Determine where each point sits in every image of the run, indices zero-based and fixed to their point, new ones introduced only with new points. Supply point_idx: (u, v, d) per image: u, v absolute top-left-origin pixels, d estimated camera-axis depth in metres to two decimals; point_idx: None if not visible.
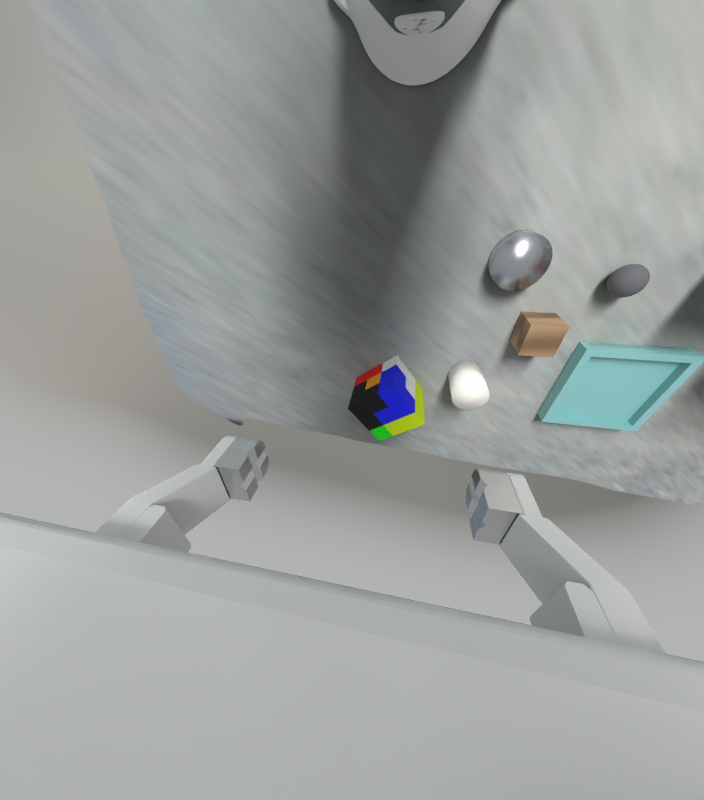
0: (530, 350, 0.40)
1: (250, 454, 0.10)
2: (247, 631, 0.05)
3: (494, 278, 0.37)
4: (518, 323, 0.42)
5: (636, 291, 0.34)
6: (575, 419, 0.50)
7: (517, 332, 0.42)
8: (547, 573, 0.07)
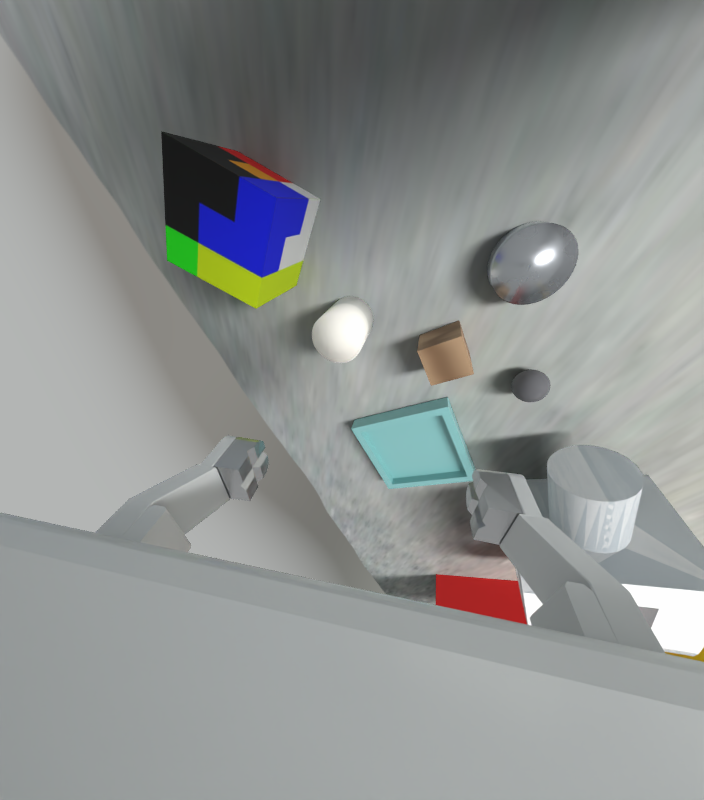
0: (429, 359, 0.31)
1: (250, 454, 0.10)
2: (247, 631, 0.05)
3: (503, 247, 0.25)
4: (446, 327, 0.32)
5: (527, 399, 0.32)
6: (371, 449, 0.46)
7: (436, 333, 0.32)
8: (547, 573, 0.07)
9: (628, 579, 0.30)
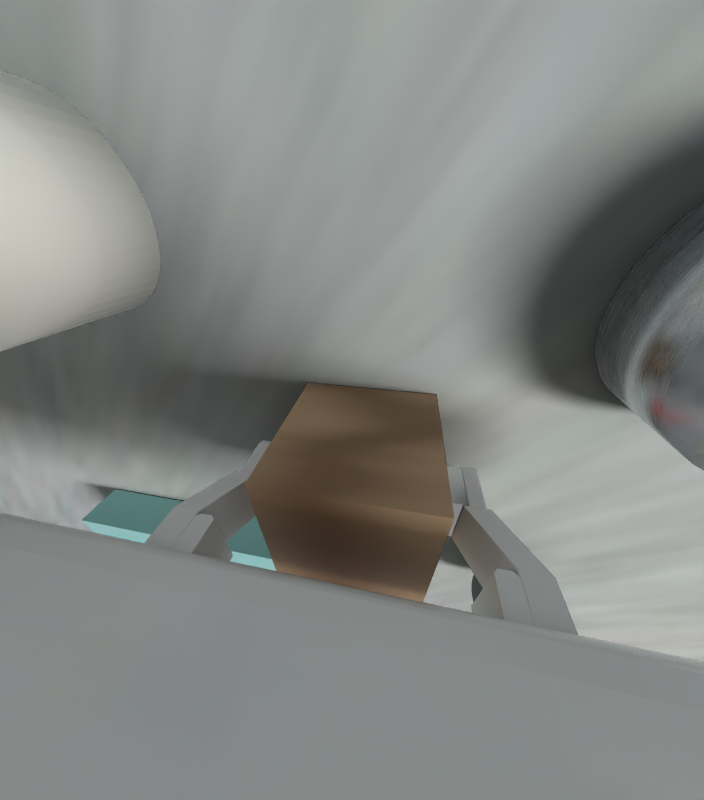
0: (288, 524, 0.07)
1: None
2: (247, 631, 0.05)
3: None
4: (394, 404, 0.09)
5: None
6: None
7: (355, 413, 0.09)
8: (487, 562, 0.07)
9: None
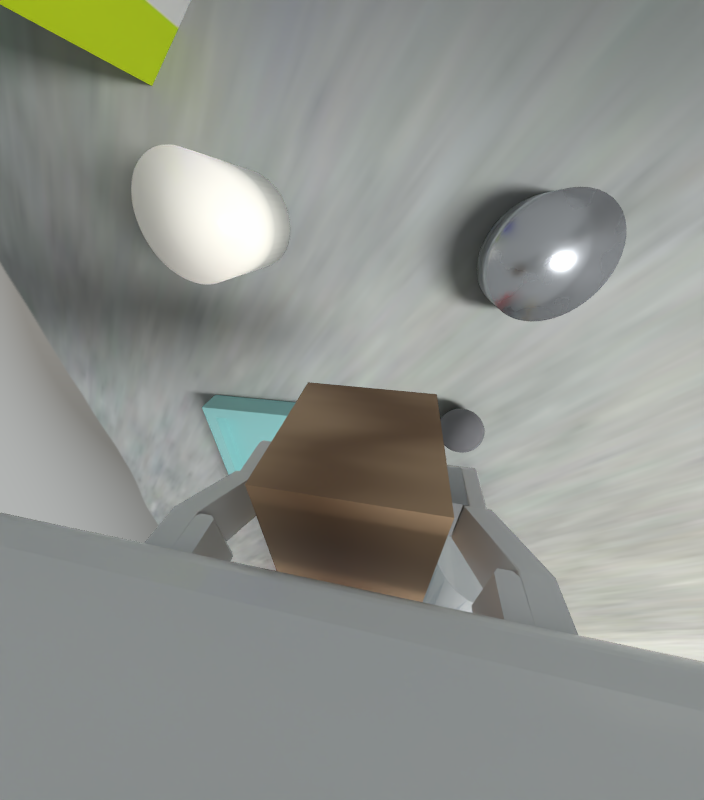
0: (288, 523, 0.07)
1: None
2: (247, 631, 0.05)
3: (534, 205, 0.14)
4: (393, 404, 0.09)
5: (453, 447, 0.23)
6: (228, 445, 0.31)
7: (355, 412, 0.09)
8: (487, 562, 0.07)
9: None
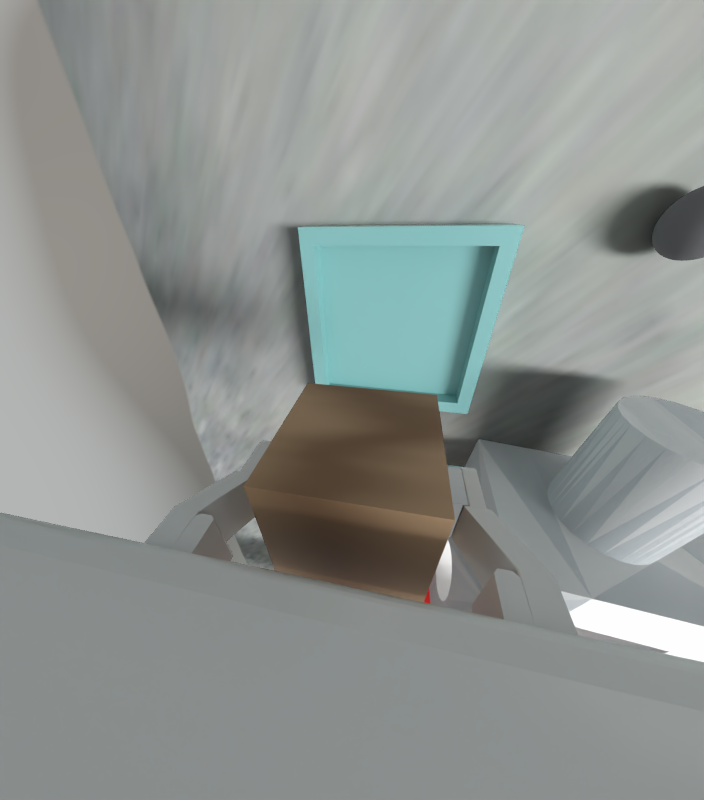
0: (288, 525, 0.07)
1: None
2: (247, 631, 0.05)
3: None
4: (394, 405, 0.09)
5: (703, 237, 0.15)
6: (319, 300, 0.24)
7: (355, 413, 0.09)
8: (487, 562, 0.07)
9: (674, 610, 0.18)
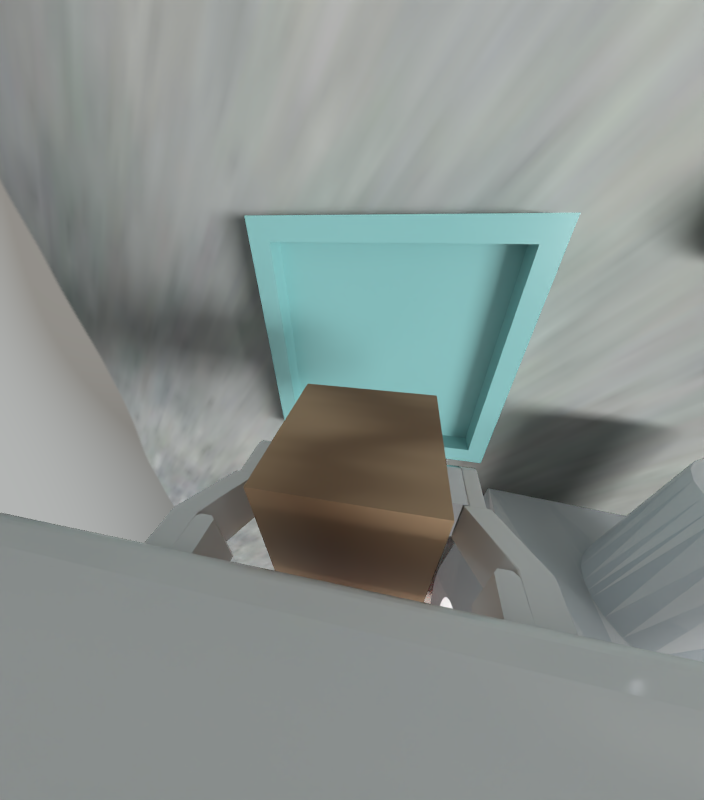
0: (288, 526, 0.07)
1: None
2: (247, 631, 0.05)
3: None
4: (393, 406, 0.09)
5: None
6: (283, 318, 0.17)
7: (355, 414, 0.09)
8: (487, 562, 0.07)
9: None
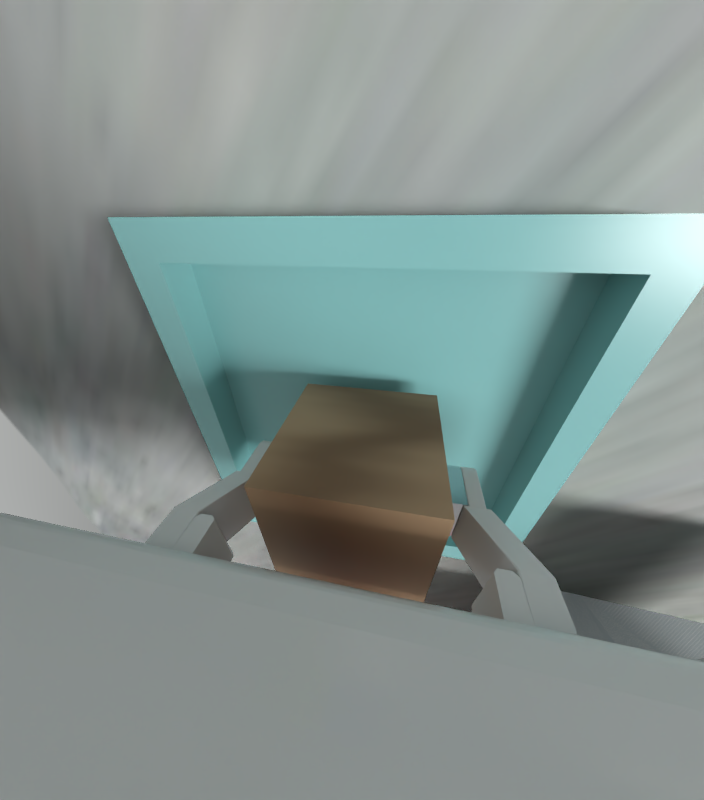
0: (288, 525, 0.07)
1: None
2: (247, 631, 0.05)
3: None
4: (393, 405, 0.09)
5: None
6: (207, 376, 0.11)
7: (355, 414, 0.09)
8: (487, 562, 0.07)
9: None
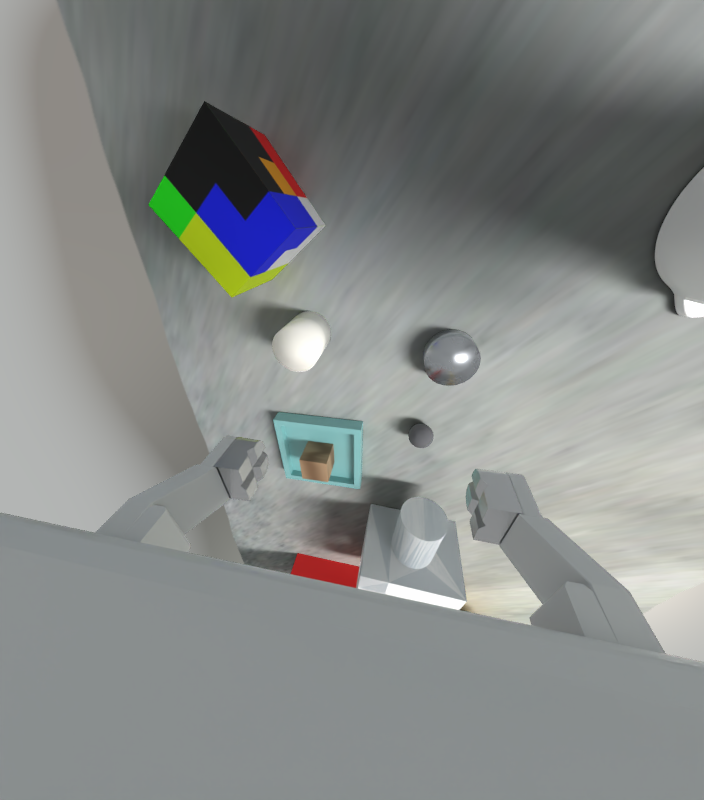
0: (305, 466, 0.47)
1: (250, 454, 0.10)
2: (247, 631, 0.05)
3: (440, 341, 0.34)
4: (324, 446, 0.50)
5: (415, 445, 0.43)
6: (284, 442, 0.51)
7: (316, 448, 0.49)
8: (547, 573, 0.07)
9: (419, 586, 0.47)
